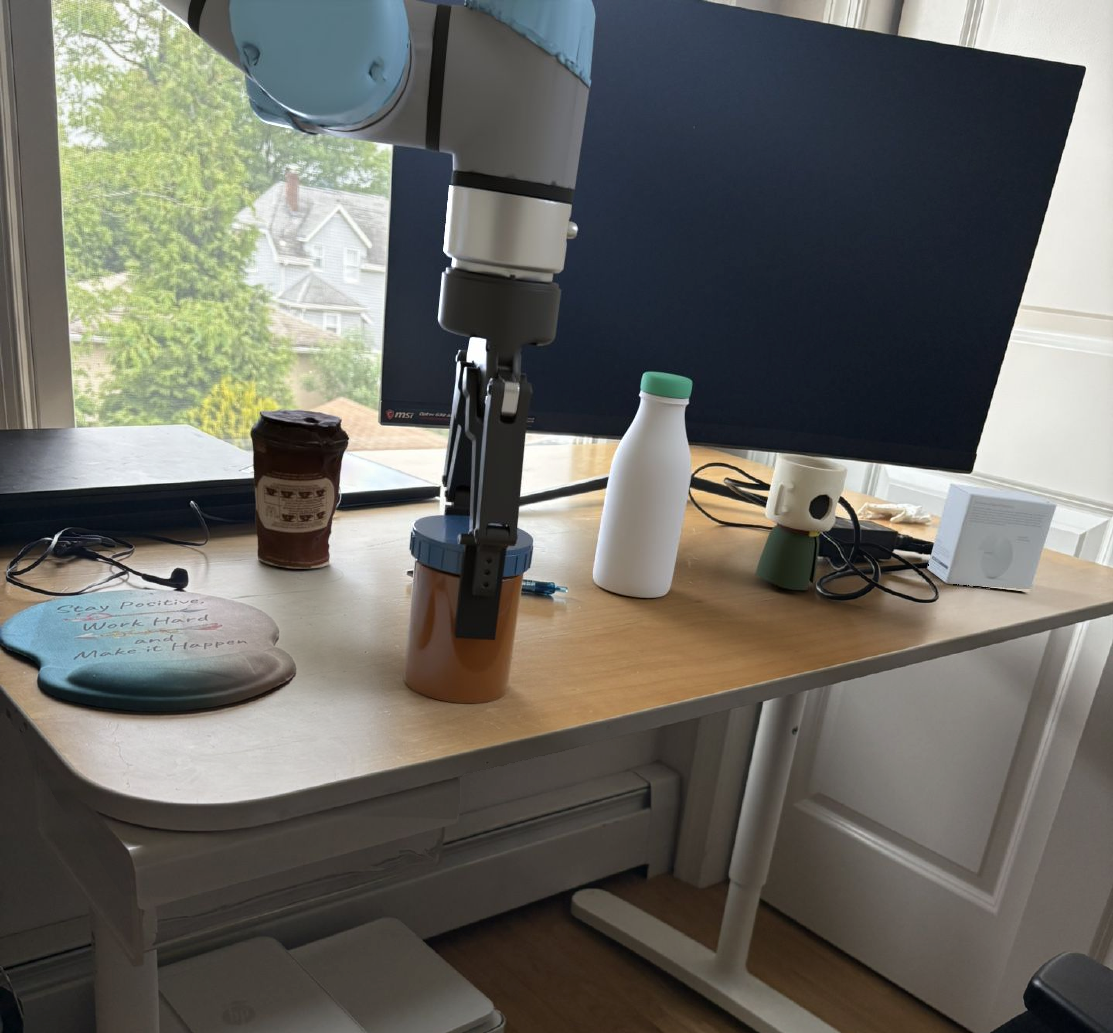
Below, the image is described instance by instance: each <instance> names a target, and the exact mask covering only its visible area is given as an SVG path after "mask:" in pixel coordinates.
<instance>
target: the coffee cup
mask: <svg viewBox="0 0 1113 1033" xmlns="http://www.w3.org/2000/svg"><path fill="white" fill-rule="evenodd" d="M259 415H260V417H259V419H258V420H257V422H256V423H254V424H253V425H252V427H251V429H250V433H249V435H250V438H251V443H252V444H251V445H252V456H253V457H252V460H253V461H252V468H253V488H254V496H255V512H254V513H255V517H254V522H255V530H256V538H257V559H258V560H259V561H260V562H262V563H265V564H267V565H270V566H275V567H281V568H287V569H298V570H299V569H300V570H301V569H318V568H323V567H326V566H329V565H330V556H331V555H330V542H329V540H330V536H331V534H332V525H333V519H334V516H335V513H336V510H337V504H338V500H339V495H340V485H341V484H340V483H341V472H342V464H343V458H344V455H345V452H346V450H347V448H348V446H349V441H350V437H349V435H348V433H347V431H346V430H344V429H343V428H342V421H343V419H342V418H341V417H339V416H336V415H333V414H328V413H324V412H320V411H312V410H303V409H275V410H262V411H259Z"/></svg>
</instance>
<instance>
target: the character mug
mask: <svg viewBox="0 0 1113 1033" xmlns="http://www.w3.org/2000/svg"><path fill="white" fill-rule="evenodd" d="M847 474H848V468H847V467H846V466H845V465H842V464H841V463H837V462H834V461H831V460H828V459H824V458H820V457H815V456H810V455H803V454H793V453H782V454H778V455H777V457H776V461H775V465H774V470H773V474H772V478H771V484H770V487H769V492H768V495H767V496H768V497H767V501H766V504H765V514H764V515H765V518H767V519H768V520H770V521H772V522H773V523H775V524H776V525H774V526H773V528H772V529H771V530H770V532H769V533H768V536H767V539H766V541H765V543H764V546H763V549H762V552H761V554H760V558H759V561H758V563H757V566H756V569H755V573H754V575H755V576H757V577H758V578H760V579H763V580H765V581H767V582H769V583H772V584H773V588H776V589H777V588H779V587H780V588H782V589H787V590H792V591H793V590H794V591H808V589H809V584H810V583H811V584H812V585H811V589H814V586H815V582H816V574H817V570H818V562H819V552H820V551H819V549H820V537H819V536H820V534H821V532H829V531H831V530H832V528H833V527H834V526H835V523H836V510H837V505H838V503H839V500H840V497H841V496H842V493H843V492H844V486H845V483H846V482H845V481H846V477H847Z"/></svg>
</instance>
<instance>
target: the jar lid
mask: <svg viewBox="0 0 1113 1033" xmlns="http://www.w3.org/2000/svg"><path fill="white" fill-rule="evenodd" d="M488 525H497V526H499V524H495V523H490V524H488ZM469 527H470V516H459V515H444V514H440V515H439V514H437V515H428V516H424V517H420V518H417V519H416V520H414V522H413V523H412V531H411V532H410V540H409V549H408V550H409V551H410V555H411V556H412V557H413V558H414V560H415V559H417V560H418V561H420V562H421V563H423V564H426V565H428V566H430V567H433V568H436V569H439V570H443V571H447V572H451V573H456V574H461V565H462V556H463V547H464V545H461V544H458V536H459V535H460V534H461V533H462V534H468V532H469ZM517 534H518V538H517V541H516V544H515V546H508V548H507V550H506V558H505V566H504V574H503V577H509V576H515V575H519V574H522V573H524V574H525V573H526V572H528V571H529V569H531V565H532V560H533V554H534V537H533V536H532V535H531V534H530V533H528V532H527V531H525V530H523V529H521V528H519V527H517Z"/></svg>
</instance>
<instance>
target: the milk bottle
mask: <svg viewBox="0 0 1113 1033" xmlns="http://www.w3.org/2000/svg"><path fill="white" fill-rule="evenodd" d="M692 390H693V380H692V379H691V378H689V377H686V376H682V375H677V374H673V373H666V372H660V371H646V372H644V373H643V374H642V377H641V381H640V392H639V394H638V396H639V397H640V403H639V407H638V409H637V412H636V414H635V417H634V419H633V421H632V422H631V424H630V426H629V427H628V429H627V431H626V432H625V433H624V435H623V437H622V438H621V440H620V442H619V444H618V446H617V447H616V450H615V452H614V455H613V458H612V461H611V464H610V469H609V474H608V480H607V485H606V490H605V497H604V502H603V508H602V513H601V519H600V526H599V531H598V536H597V537H598V538H597V543H596V550H595V557H594V562H593V570H592V578H593V581H594V583H595V584H596V585H597V586H598V587H600V588H602V589H604V590H606V591H609V592H611V593H615V594H618V595H622V596H627V597H631V598H632V597H633V598H641V599H642V598H644V599H645V598H646V599H650V598H651V599H652V598H661V597H663V596H665V595H667V594H668V593H669V591H670V589H671V587H672V582H673V577H674V572H675V566H676V562H677V557H678V551H679V546H680V543H681V542H680V541H681V536H682V530H683V525H684V520H685V514H686V509H687V504H688V500H689V499H688V498H689V492H690V485H691V479H692V454H691V449H690V445H689V441H688V437H687V430H686V419H685V417H686V416H685V414H686V413H685V412H686V407H687V406H688V405H689V404H690V398H691V394H692Z"/></svg>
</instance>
